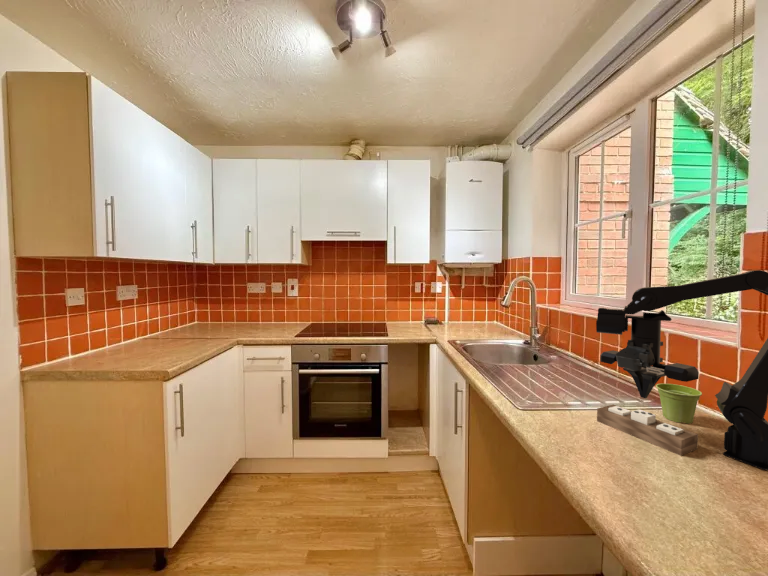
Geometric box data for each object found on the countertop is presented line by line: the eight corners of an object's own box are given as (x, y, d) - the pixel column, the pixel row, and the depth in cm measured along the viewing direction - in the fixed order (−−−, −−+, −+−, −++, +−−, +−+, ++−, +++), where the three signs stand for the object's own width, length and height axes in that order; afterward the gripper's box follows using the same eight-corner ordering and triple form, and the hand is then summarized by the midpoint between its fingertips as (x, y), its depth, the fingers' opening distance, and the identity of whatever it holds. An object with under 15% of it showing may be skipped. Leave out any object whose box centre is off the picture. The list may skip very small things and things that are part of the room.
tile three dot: (655, 424, 78) (655, 414, 78) (647, 426, 77) (647, 416, 77) (639, 418, 81) (639, 408, 81) (630, 420, 80) (631, 410, 80)
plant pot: (690, 430, 81) (691, 397, 81) (648, 415, 90) (648, 385, 89) (708, 423, 85) (709, 392, 85) (665, 409, 93) (666, 381, 93)
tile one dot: (630, 419, 83) (631, 410, 83) (622, 422, 82) (622, 412, 82) (616, 414, 86) (616, 405, 86) (608, 416, 85) (608, 407, 85)
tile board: (697, 448, 72) (697, 434, 72) (681, 455, 69) (681, 440, 69) (612, 416, 89) (613, 404, 89) (596, 420, 86) (597, 408, 86)
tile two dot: (683, 439, 73) (683, 428, 73) (674, 442, 72) (675, 431, 72) (664, 432, 76) (664, 422, 76) (656, 435, 75) (656, 424, 75)
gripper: (587, 333, 84) (586, 390, 84) (674, 347, 67) (672, 418, 67) (613, 330, 88) (612, 384, 89) (700, 343, 71) (698, 410, 71)
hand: (643, 397), depth 79 cm, fingers closed
